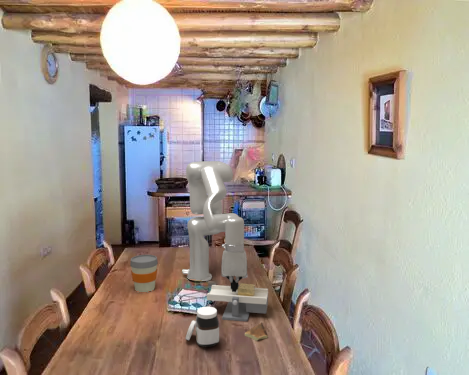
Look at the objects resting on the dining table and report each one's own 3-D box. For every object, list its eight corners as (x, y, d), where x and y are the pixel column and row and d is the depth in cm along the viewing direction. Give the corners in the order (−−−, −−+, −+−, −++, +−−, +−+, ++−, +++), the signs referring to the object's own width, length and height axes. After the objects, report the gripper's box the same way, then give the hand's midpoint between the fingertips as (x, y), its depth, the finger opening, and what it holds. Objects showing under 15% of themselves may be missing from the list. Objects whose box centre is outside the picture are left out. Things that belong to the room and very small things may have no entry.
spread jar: (221, 347, 135) (221, 315, 133) (188, 352, 132) (188, 320, 130) (213, 331, 146) (213, 301, 145) (183, 335, 143) (182, 305, 142)
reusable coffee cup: (130, 295, 179) (129, 263, 177) (131, 285, 191) (130, 255, 189) (158, 293, 181) (157, 261, 179) (158, 283, 193) (157, 253, 191)
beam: (206, 309, 160) (206, 294, 159) (212, 299, 170) (212, 284, 169) (265, 314, 156) (266, 298, 155) (267, 303, 166) (268, 288, 165)
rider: (237, 297, 159) (237, 288, 159) (240, 292, 165) (240, 283, 164) (252, 299, 158) (252, 289, 157) (254, 293, 163) (254, 284, 163)
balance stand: (222, 319, 155) (222, 299, 154) (229, 301, 172) (229, 283, 171) (247, 321, 154) (247, 300, 153) (252, 303, 171) (252, 284, 169)
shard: (261, 325, 151) (261, 321, 151) (278, 332, 146) (278, 327, 146) (243, 336, 143) (243, 331, 143) (260, 343, 138) (260, 339, 138)
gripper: (214, 249, 157) (214, 293, 160) (251, 251, 155) (251, 295, 157) (218, 244, 164) (218, 286, 167) (254, 245, 162) (253, 288, 164)
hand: (234, 290), depth 162 cm, fingers closed
